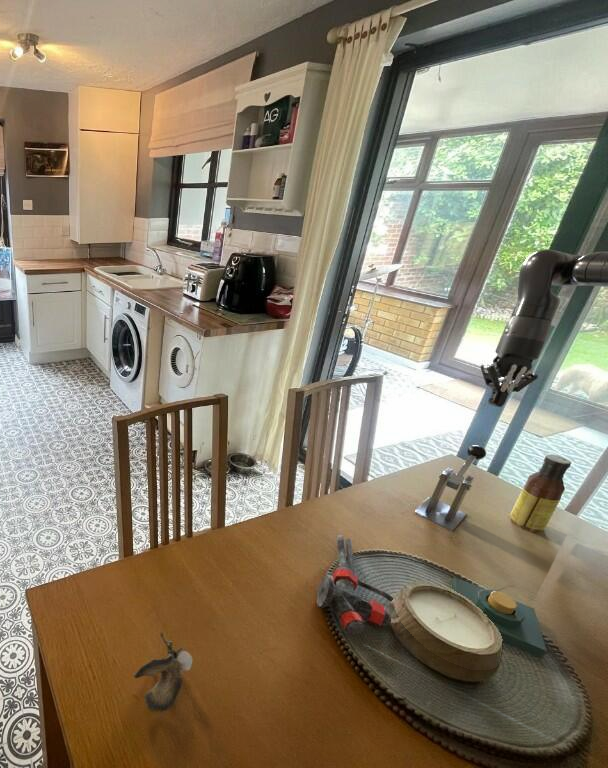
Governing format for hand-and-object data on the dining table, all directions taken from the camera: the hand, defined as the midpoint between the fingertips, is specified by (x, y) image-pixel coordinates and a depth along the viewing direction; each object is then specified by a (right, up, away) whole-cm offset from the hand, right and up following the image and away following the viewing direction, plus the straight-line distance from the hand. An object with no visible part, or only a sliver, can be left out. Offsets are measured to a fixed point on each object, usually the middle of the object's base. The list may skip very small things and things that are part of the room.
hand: (494, 405), depth 101 cm
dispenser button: (-23, -37, -24) cm, 50 cm away
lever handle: (-7, -16, +1) cm, 18 cm away
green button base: (-23, -40, -23) cm, 51 cm away
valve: (-46, -37, -17) cm, 61 cm away
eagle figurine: (-88, -44, -33) cm, 104 cm away
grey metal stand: (-12, -28, +2) cm, 31 cm away
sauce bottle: (+7, -30, 0) cm, 31 cm away
